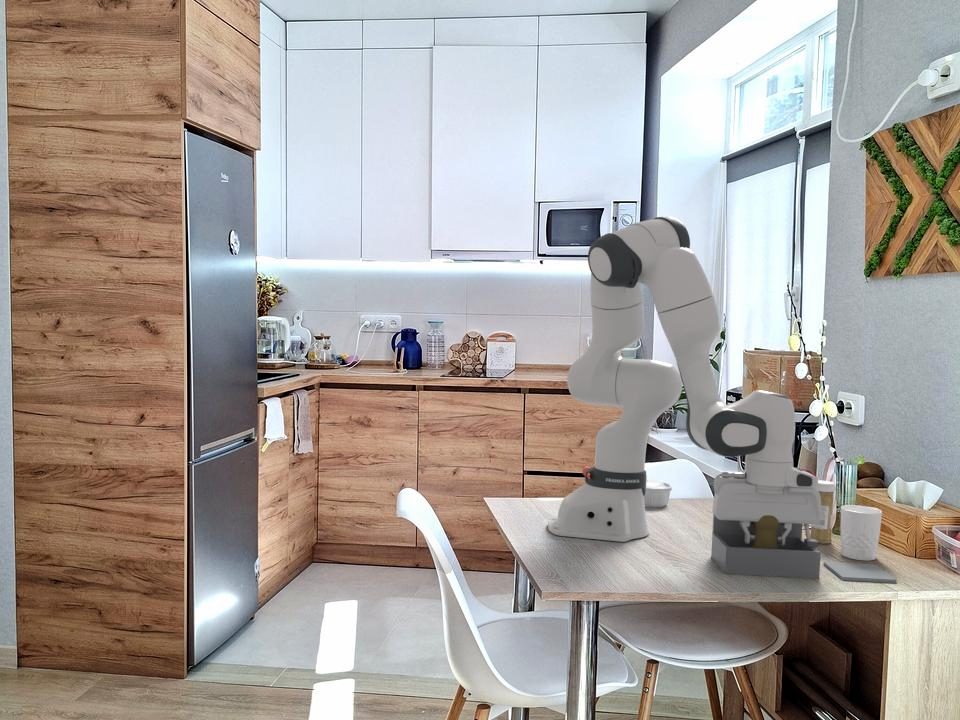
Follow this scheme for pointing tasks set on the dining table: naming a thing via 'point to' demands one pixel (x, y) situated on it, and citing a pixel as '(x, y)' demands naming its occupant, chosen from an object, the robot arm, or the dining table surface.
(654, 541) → the dining table surface
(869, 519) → the white cup
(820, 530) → the sprinkles bottle
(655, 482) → the ramekin
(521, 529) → the dining table surface
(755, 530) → the cork
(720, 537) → the case
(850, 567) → the mat
